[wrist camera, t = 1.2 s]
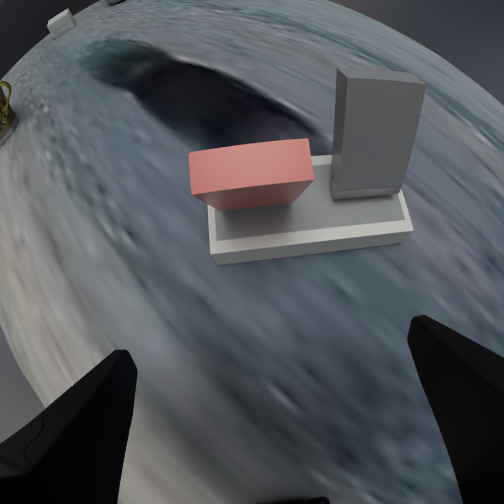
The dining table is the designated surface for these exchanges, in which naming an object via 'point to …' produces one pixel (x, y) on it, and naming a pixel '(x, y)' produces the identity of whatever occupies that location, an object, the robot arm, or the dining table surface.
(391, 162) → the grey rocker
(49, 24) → the small box
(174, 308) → the dining table surface
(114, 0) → the plastic bottle
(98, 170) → the dining table surface
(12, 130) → the ceramic cup
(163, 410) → the dining table surface
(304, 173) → the upright red slab
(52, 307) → the dining table surface
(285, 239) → the shallow grey tray
